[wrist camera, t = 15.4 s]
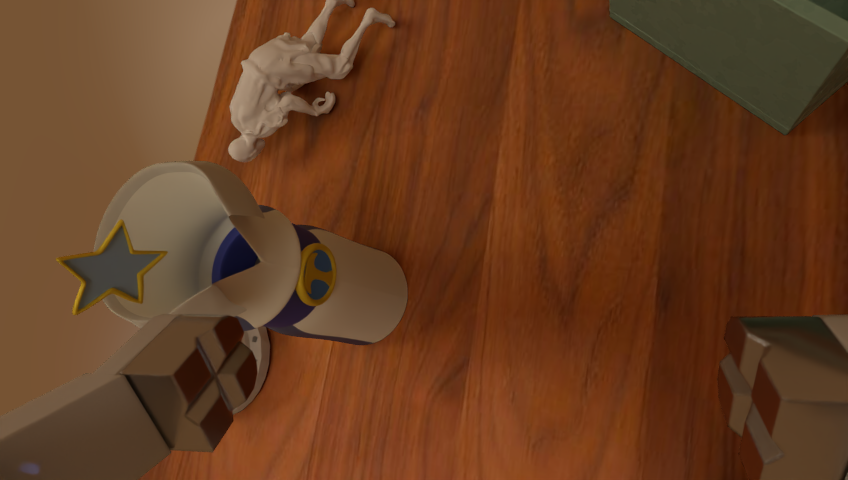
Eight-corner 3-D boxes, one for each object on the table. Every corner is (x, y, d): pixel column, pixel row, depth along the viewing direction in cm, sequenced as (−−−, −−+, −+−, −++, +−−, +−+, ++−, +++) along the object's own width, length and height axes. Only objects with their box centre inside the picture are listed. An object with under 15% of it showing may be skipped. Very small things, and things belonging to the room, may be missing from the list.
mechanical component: (283, 396, 40) (261, 283, 43) (244, 400, 36) (223, 275, 39) (190, 432, 42) (176, 322, 46) (144, 439, 38) (133, 318, 42)
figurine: (359, 42, 50) (218, 149, 45) (337, -34, 44) (168, 82, 38) (407, 69, 47) (262, 188, 42) (392, -8, 41) (217, 122, 35)
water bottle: (418, 241, 38) (120, 67, 16) (406, 353, 36) (51, 341, 14) (329, 239, 41) (-27, 92, 19) (313, 342, 40) (-98, 317, 17)
